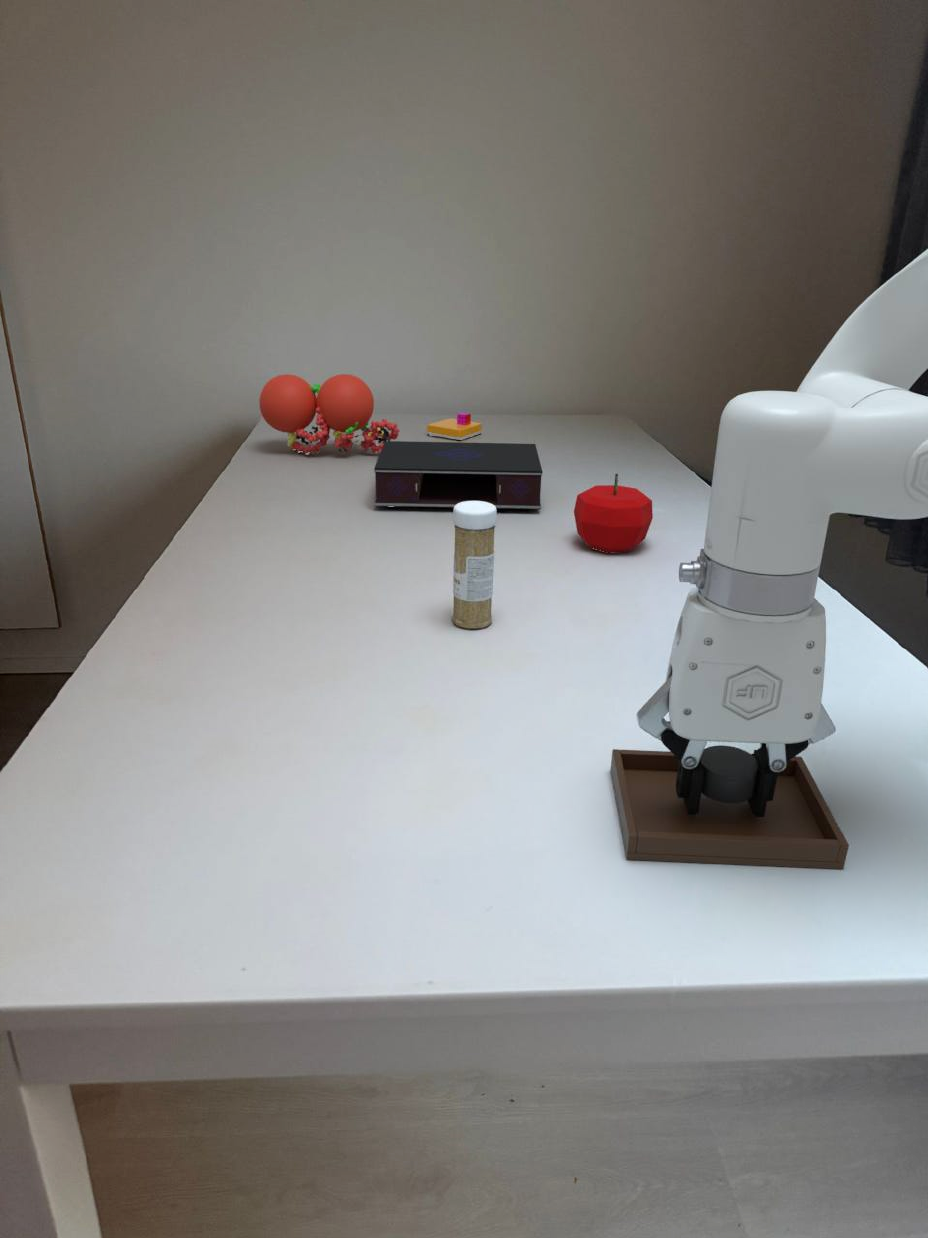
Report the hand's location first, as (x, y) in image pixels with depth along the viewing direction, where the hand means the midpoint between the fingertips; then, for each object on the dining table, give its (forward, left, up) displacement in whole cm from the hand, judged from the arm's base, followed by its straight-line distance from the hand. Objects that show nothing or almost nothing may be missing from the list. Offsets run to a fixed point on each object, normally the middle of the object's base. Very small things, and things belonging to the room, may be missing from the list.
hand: (722, 802), depth 68 cm
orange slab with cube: (+27, -125, -1) cm, 128 cm away
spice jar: (+20, -34, -1) cm, 40 cm away
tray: (0, 0, -1) cm, 1 cm away
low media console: (+24, -82, -1) cm, 86 cm away
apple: (+2, -61, -1) cm, 61 cm away
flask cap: (0, 0, +3) cm, 3 cm away
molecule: (+49, -107, -1) cm, 118 cm away
